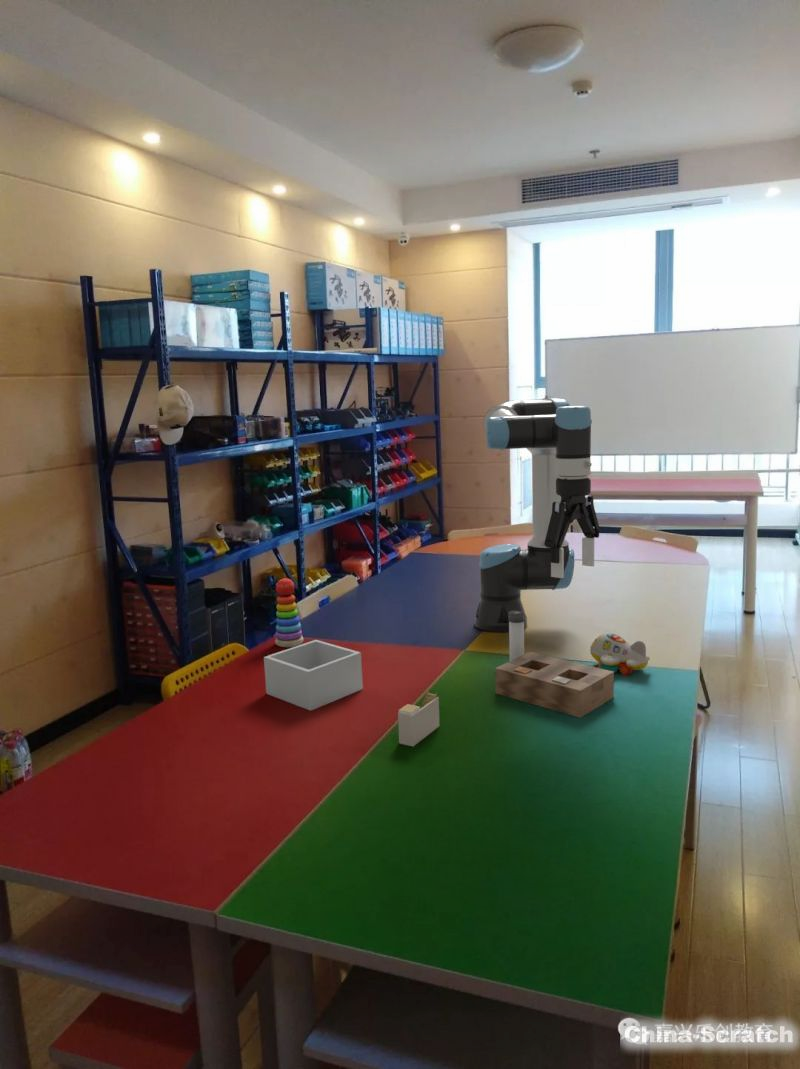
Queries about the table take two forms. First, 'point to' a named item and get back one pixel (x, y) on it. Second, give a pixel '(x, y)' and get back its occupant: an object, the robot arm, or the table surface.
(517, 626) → the plug
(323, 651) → the box
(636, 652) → the toy airplane
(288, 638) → the stacking toy
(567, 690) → the socket block
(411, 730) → the model
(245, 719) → the table surface
